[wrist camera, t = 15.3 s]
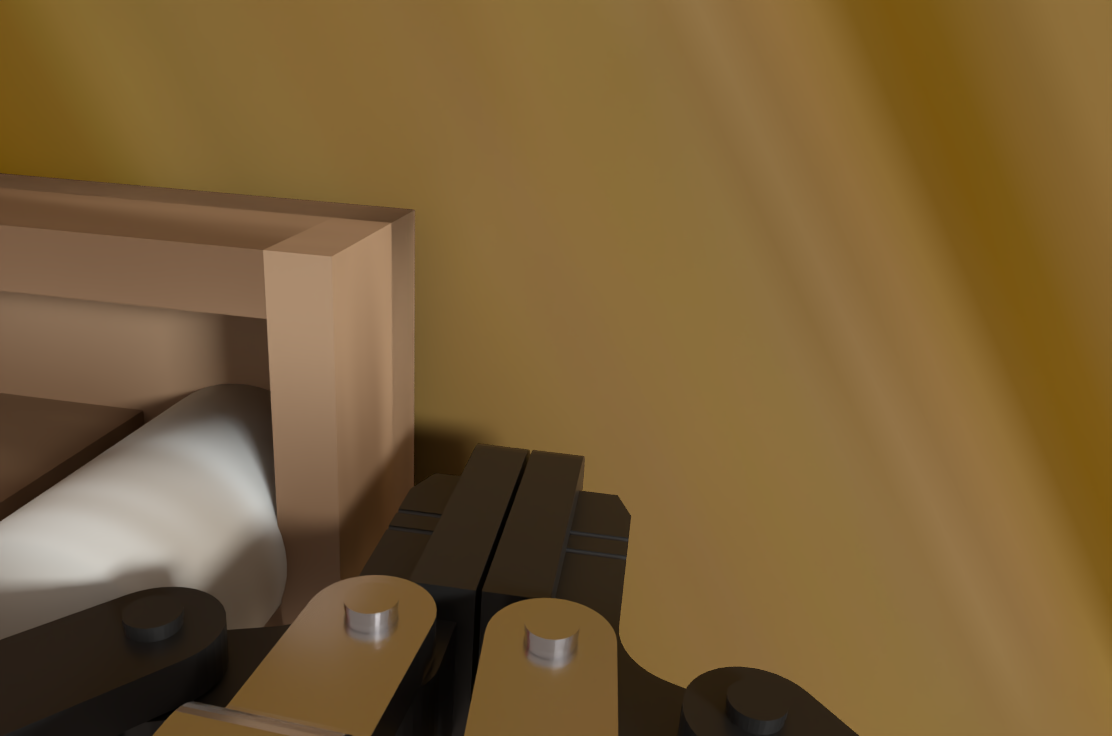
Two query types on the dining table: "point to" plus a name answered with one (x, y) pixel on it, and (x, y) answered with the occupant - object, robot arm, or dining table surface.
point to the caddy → (197, 395)
